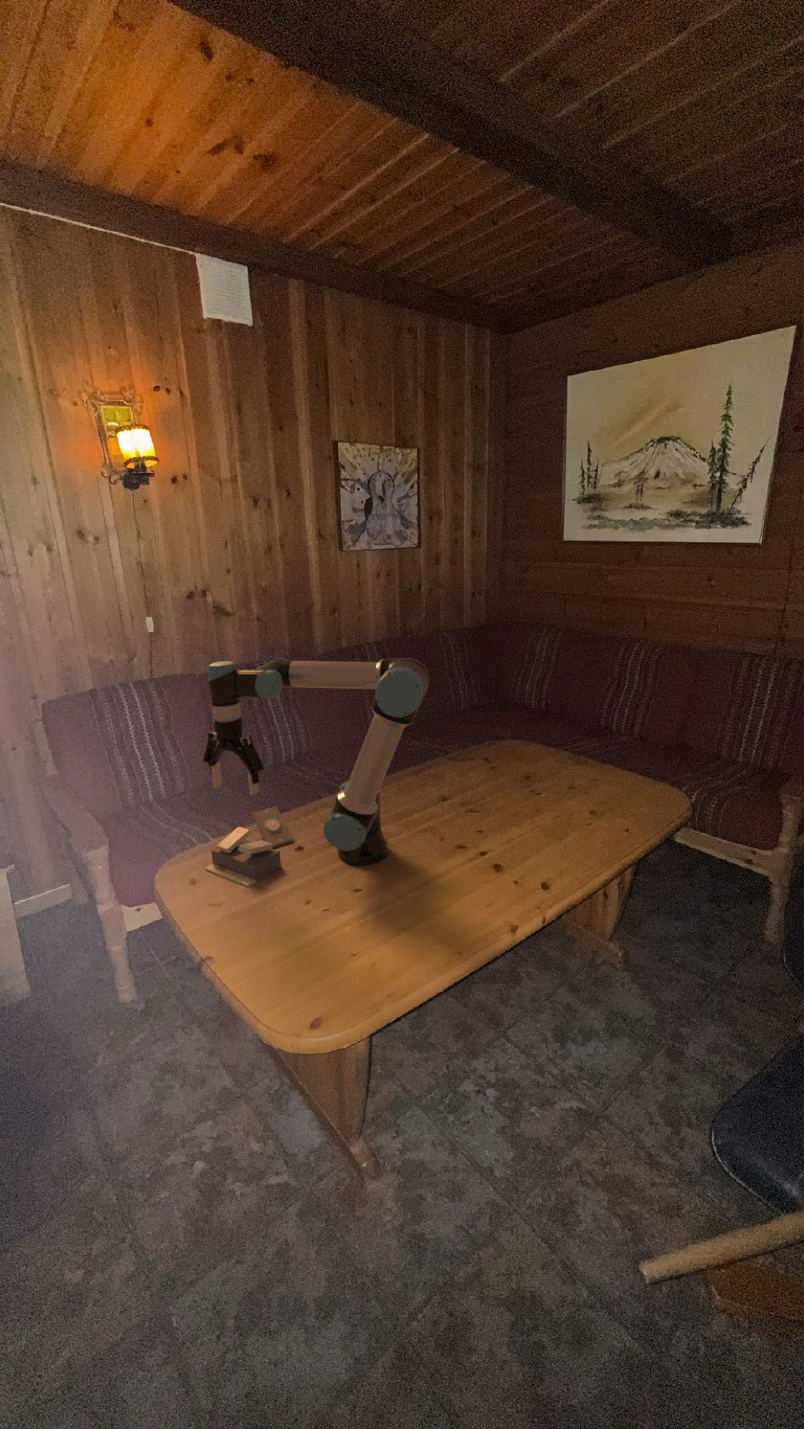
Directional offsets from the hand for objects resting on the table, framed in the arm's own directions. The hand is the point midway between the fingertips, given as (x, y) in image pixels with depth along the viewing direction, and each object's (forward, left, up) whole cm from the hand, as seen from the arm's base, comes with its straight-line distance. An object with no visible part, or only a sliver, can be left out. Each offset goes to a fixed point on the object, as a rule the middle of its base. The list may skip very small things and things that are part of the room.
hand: (235, 789), depth 177 cm
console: (0, 0, -25) cm, 25 cm away
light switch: (+6, -18, -25) cm, 32 cm away
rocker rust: (+5, -1, -17) cm, 18 cm away
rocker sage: (-4, -1, -17) cm, 18 cm away
